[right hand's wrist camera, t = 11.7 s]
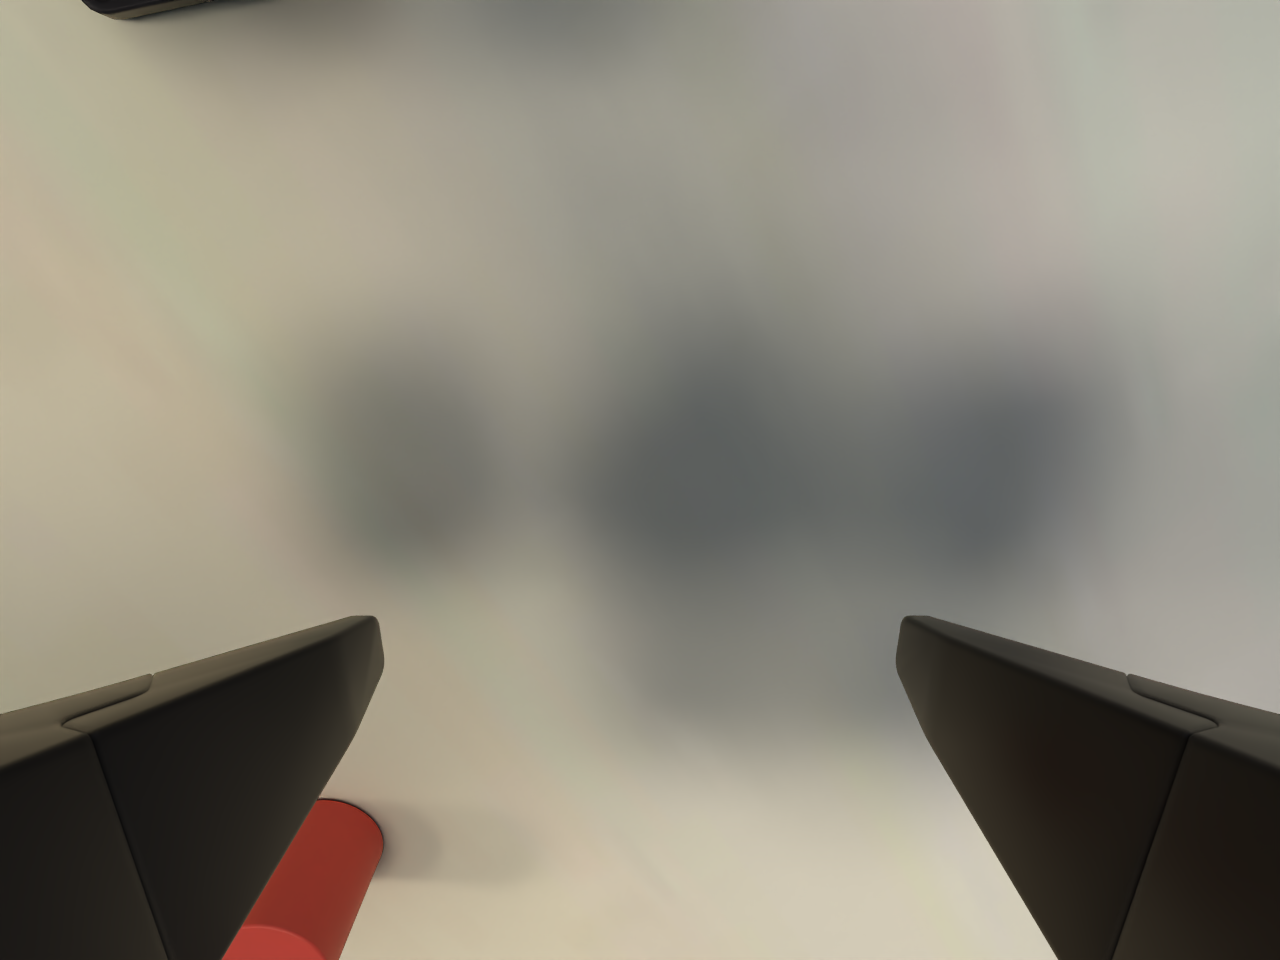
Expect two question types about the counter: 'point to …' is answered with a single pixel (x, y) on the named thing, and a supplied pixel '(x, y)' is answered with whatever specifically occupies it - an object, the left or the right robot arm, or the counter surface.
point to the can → (313, 889)
